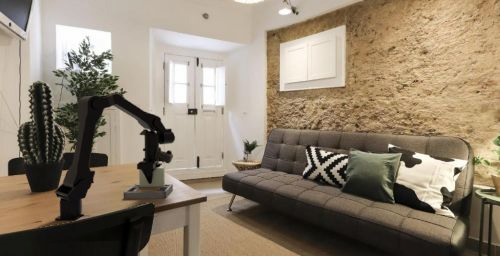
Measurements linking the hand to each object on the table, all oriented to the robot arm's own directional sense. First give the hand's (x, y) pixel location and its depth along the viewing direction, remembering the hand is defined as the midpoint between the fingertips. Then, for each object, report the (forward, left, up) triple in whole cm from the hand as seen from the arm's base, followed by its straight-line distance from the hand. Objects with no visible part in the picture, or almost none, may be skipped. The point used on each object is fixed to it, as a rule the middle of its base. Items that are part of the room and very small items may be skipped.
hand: (152, 182), depth 112 cm
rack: (-3, 0, -4) cm, 6 cm away
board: (0, 0, -4) cm, 4 cm away
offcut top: (-5, 0, -3) cm, 6 cm away
